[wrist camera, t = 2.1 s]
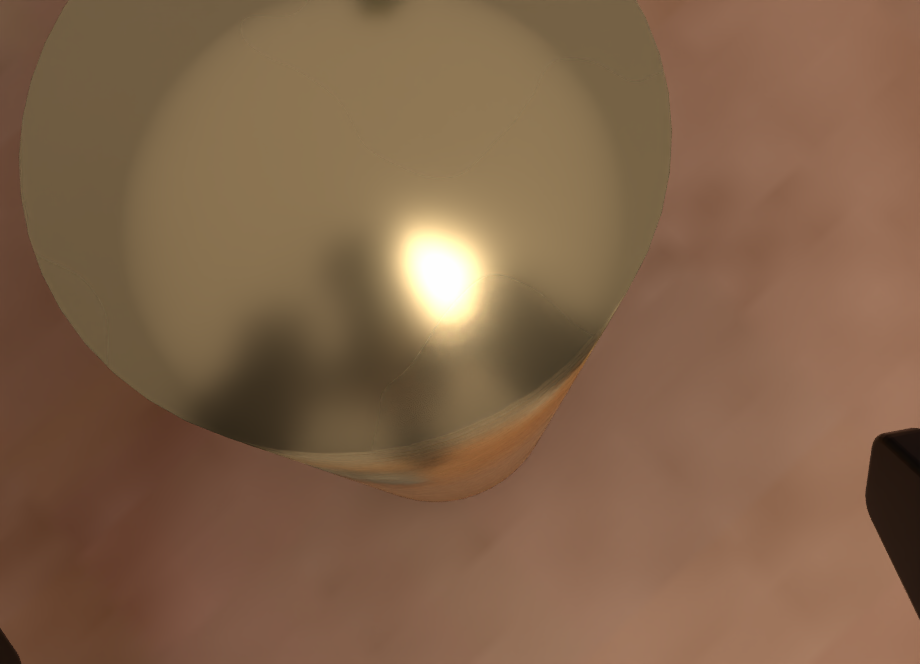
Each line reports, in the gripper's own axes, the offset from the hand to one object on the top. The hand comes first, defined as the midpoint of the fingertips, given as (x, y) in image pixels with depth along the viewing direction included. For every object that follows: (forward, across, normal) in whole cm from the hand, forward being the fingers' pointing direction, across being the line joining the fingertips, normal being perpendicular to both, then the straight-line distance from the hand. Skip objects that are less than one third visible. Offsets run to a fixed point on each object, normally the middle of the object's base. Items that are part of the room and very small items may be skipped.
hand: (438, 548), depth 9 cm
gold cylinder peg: (+10, 0, +5) cm, 11 cm away
